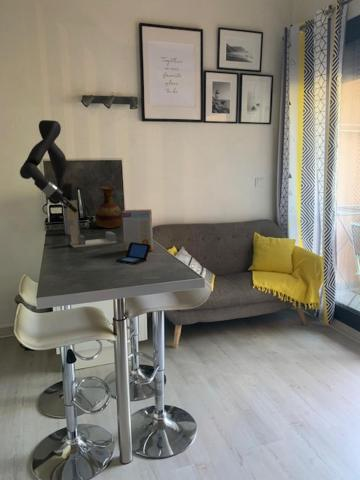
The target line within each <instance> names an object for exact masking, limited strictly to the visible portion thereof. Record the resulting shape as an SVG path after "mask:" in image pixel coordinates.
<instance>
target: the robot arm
mask: <svg viewBox="0 0 360 480" xmlns="http://www.w3.org/2000/svg"><path fill="white" fill-rule="evenodd" d="M38 130H39V135H40V137H41V140H40V141H39V142H37V143H36V144H35V145H34V146H32V149H31V150H30V152H29V154H28V156H27V158H26V159H25V161H24V162H23V164H22V166H21V167H20V169H19V175H20V177H21V178H22V179H24V180H29V179H32V180H33V181H34V182H33V184H34V185H35V186H36V188H38V189H39V190H40V191H41V192H42V193H44V194H45V196H46V197H48V198H49V199H50V200H52V201H53V202H57V201H58V202H59V203H60V204H62V209H63V210H62V211H63V222H64V234H65V235H69V236H71V231H70V225H77V226H78V234H81V233H80V220H79V217H78V220H68V214H67V207H68V208H69V209H71V210H72V211H73V212H75V213H76V212H77V211H78V212H79V209H78V203H79V202H78V201H79V200H78V187H77V184H76V183H75V182H67V183H66V182H64V181H65V180H64V176H65V173H66V171H67V167H68V162H67V159H66V155H65V154H64V152H63V150H62V149H61V148H60V147H59V146H58V145H57V143H55V141H56V140H57V139H58V137H59V135H60V134H61V130H62V127H61V124H60V123H59V121H57V120H50V119H43V120H40V121H39V123H38ZM46 152H47V153H46ZM46 154H47V155H48V157H49V161H50V163H51V167H52V170H53V173H54V176H55V180H56V181H55V182H56V184H54V183H53V182H52V181H50V180H49V179H48V178H47V177H46V176H45V175H44V174H43V172H42V171H41V170H40V169H39V168H38V166H39V165H40V163H41V162H42V160H43V159H44V156H45V155H46ZM68 198H70V199H69V200H76V201H77V209H76V208H75V207H74V206H73V205H72V204H71V203H70V202H69V200H68ZM69 204H70V206H68V205H69Z"/></svg>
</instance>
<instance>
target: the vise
mask: <svg viewBox="0 0 360 480" xmlns="http://www.w3.org/2000/svg"><path fill="white" fill-rule="evenodd" d="M104 234H105V238H97V239H87V240H86V239H85V243H86V244H83V245H80V244H74V245H73V244H72V243H71V241H70V242H69V244H70V246H71V247H72V248H81V247H90V246H91V247H92V246H98V245H99V246H100V245H108V244H116V243H117V234H116V233H115V232H112V231H105V232H104ZM117 244H118V243H117Z"/></svg>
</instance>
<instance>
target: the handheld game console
mask: <svg viewBox="0 0 360 480" xmlns="http://www.w3.org/2000/svg"><path fill="white" fill-rule="evenodd" d="M149 249H150V245H148V244H141V243H133V242H131V243H130V245H129V248H128V251H127V252H126V254H125V256H123V257H120V258H116V260H115V261H116V262H117V261H120V262H119V263H122V262H126V263H125V264H128V263H133V264H132V265H134V264H136V265H138V264H137V263H140V262H143V261H146V262H147V257H148V255H149V252H150V251H149ZM143 263H144V262H143ZM140 264H141V263H140Z"/></svg>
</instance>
